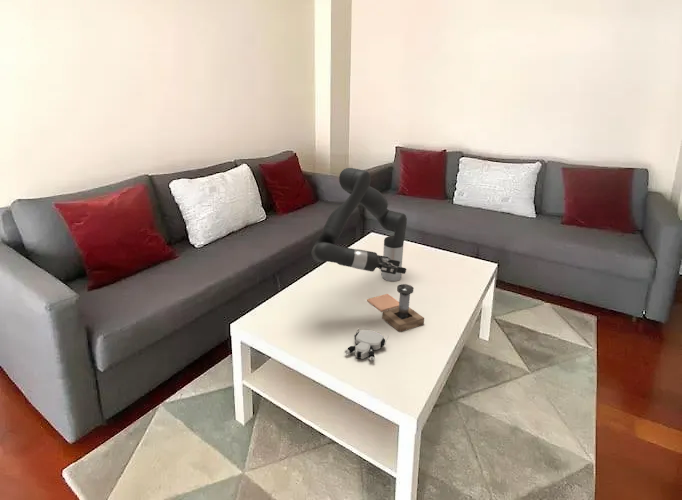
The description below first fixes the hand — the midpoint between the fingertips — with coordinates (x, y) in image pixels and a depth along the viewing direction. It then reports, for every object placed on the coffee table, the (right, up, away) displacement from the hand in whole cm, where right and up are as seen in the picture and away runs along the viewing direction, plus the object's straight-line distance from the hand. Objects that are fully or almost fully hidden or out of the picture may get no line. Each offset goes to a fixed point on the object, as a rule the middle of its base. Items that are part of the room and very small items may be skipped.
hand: (402, 267), depth 181 cm
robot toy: (-15, -30, -12) cm, 36 cm away
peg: (+1, -22, +7) cm, 23 cm away
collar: (+1, -22, +7) cm, 23 cm away
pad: (-5, -16, +20) cm, 27 cm away
